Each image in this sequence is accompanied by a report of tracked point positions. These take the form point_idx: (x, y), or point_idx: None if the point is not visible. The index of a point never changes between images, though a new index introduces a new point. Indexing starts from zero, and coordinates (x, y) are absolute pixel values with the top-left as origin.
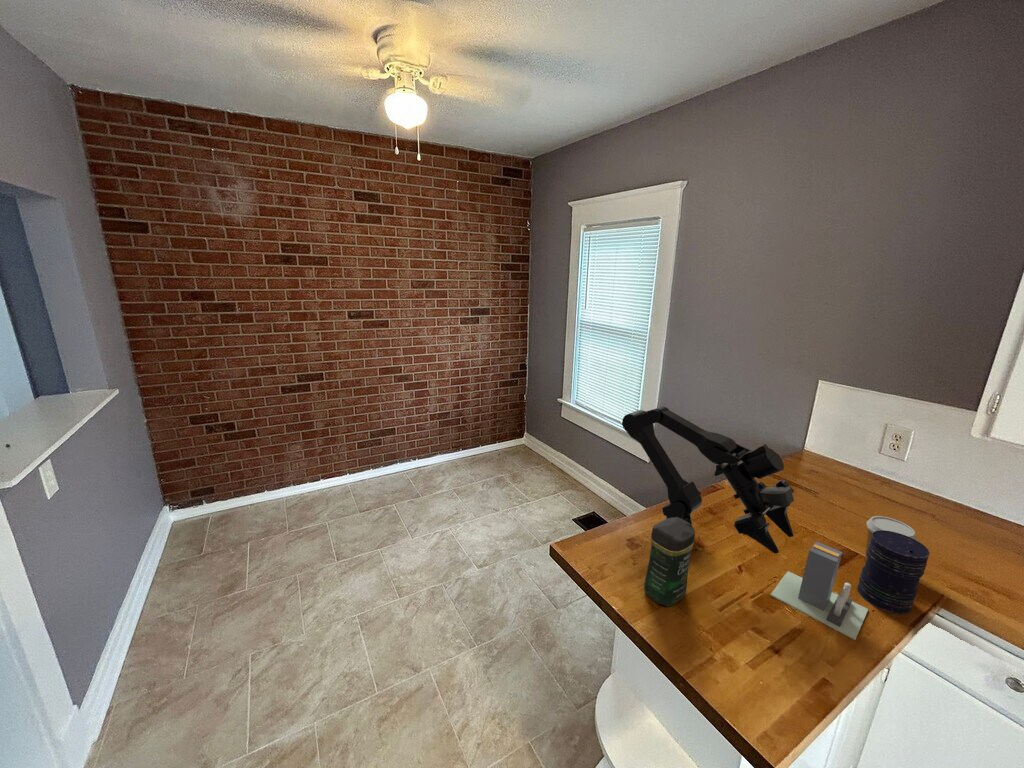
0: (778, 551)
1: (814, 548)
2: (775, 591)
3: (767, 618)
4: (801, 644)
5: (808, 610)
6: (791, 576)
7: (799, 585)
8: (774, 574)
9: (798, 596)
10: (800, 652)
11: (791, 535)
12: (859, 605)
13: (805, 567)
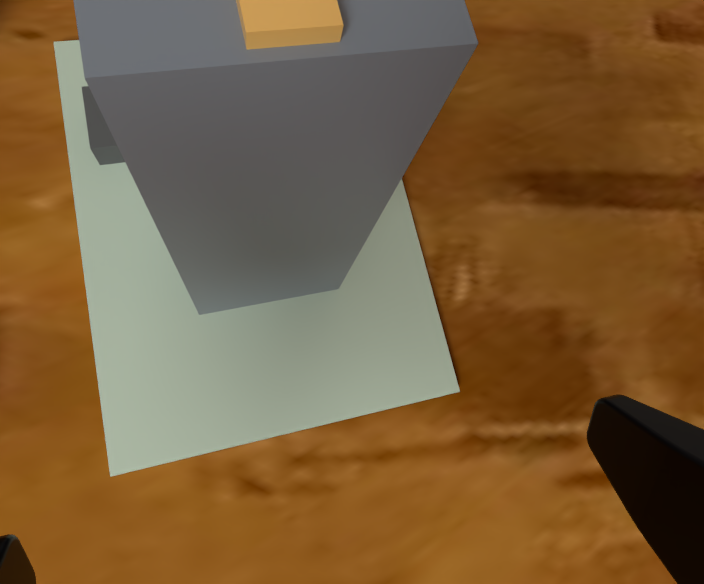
0: (619, 399)
1: (344, 20)
2: (411, 390)
3: (617, 301)
4: (601, 143)
5: (383, 210)
6: (156, 424)
7: (206, 344)
8: (229, 508)
9: (339, 285)
10: (641, 128)
11: (16, 561)
12: (64, 76)
13: (394, 187)
